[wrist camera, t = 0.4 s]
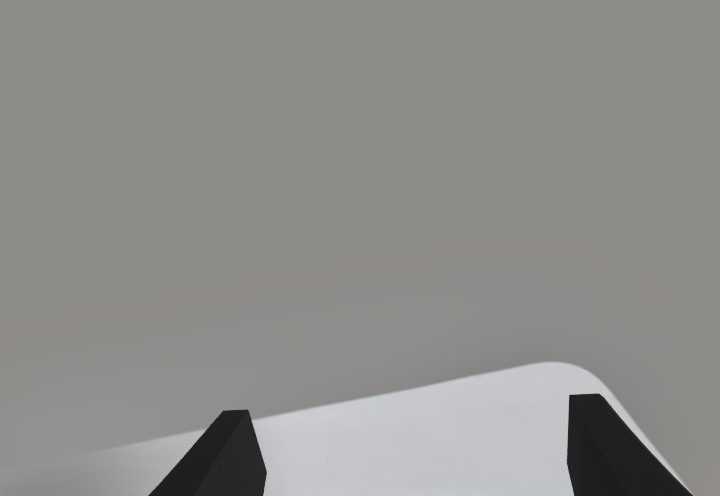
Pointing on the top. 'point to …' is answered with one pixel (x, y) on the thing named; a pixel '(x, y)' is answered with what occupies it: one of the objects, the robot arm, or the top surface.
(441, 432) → the top surface
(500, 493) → the top surface
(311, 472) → the top surface
